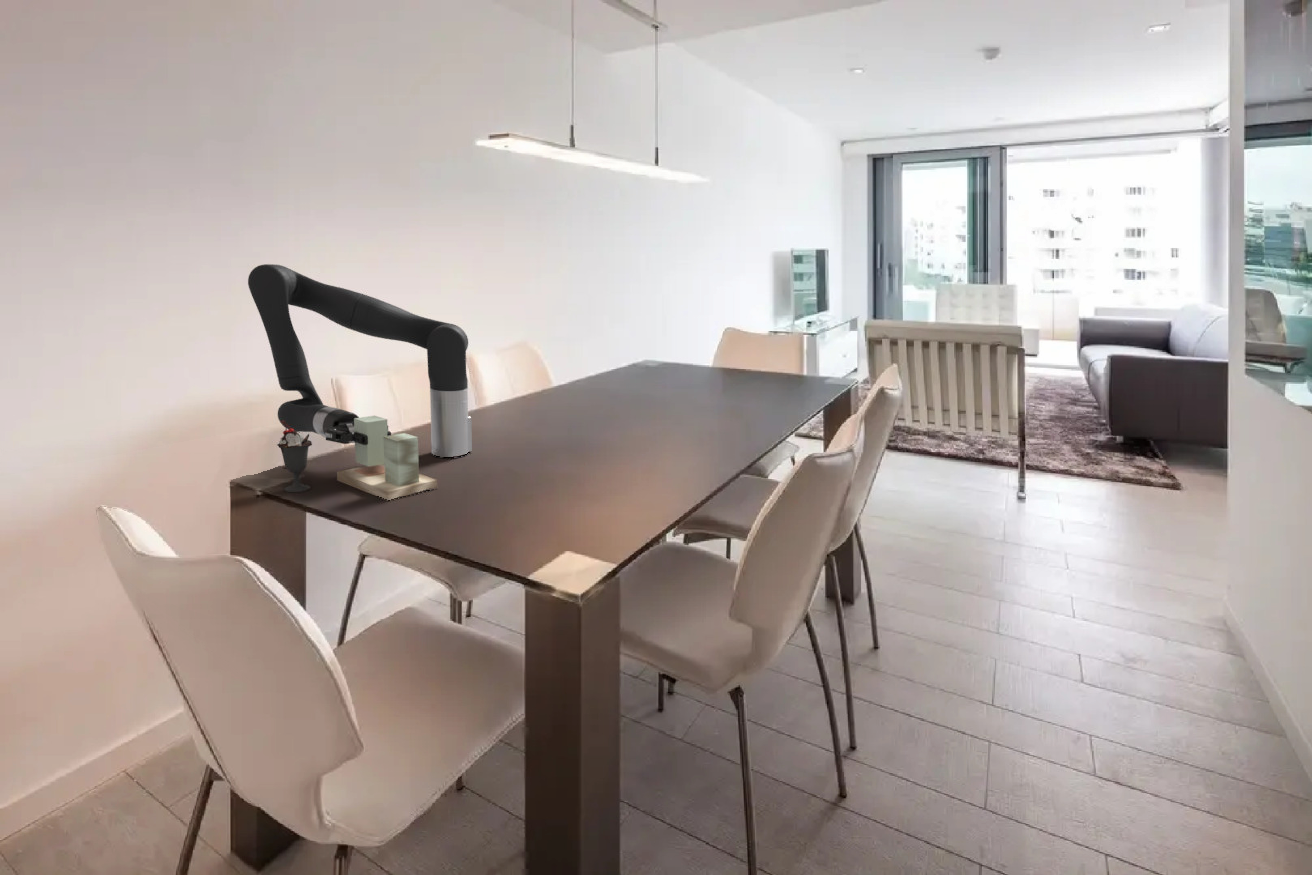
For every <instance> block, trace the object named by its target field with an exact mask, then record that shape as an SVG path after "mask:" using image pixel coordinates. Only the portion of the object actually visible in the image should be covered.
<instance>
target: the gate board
mask: <svg viewBox="0 0 1312 875" xmlns="http://www.w3.org/2000/svg"><path fill="white" fill-rule="evenodd" d="M384 461H385V463H384V464H379V465H374V466H369V467H368V466H365V465H363V466H359V467H354V468H350V469H345V470H340V471H336V481H338V482H340V483H343V484H346V485H348V486H351V487H353V488H356V489H358V490H360V491H363V492H365V493H368V494H370V495H373V496H376V497H377V496H379V497H378V498H380V497H382V498H381V499H383V498H384V499H383V500H385V499H387V500H386V501H388V500H390V501H392V500H391V499H394V498H397V497H399V496H406V495H409V494H411V493H414V492H420V491H423V490H426V489H429V488H434V487H437V488H438V479H436V478H432V477H430V476H426V475H425V474H422V473H420V467H419V437H418V436H416V435H415V436H414V435H412V434H408V433H405V432H403V433H396V434H391V435H390V436H384ZM406 497H407V496H406ZM394 500H395V499H394Z"/></svg>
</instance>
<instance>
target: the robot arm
mask: <svg viewBox="0 0 1312 875" xmlns="http://www.w3.org/2000/svg"><path fill="white" fill-rule="evenodd" d="M247 285H248V289H249V293H250V294H251V297H252V300H253V301H254V304H255V306H256V309H257V311H258V314H259V316H260V319H261V321H262V324H263V327H264V330H265V333H266V336H267V339H268V343H269V345H270V350H271V355H272V358H273V363H274V366H275V371H276V376H277V381H278V384H279V387H280V389H281V390H283V391H285V392H286V391H287V392H288V391H289V392H292V391H293V392H298V393H299V395H301V398H299V399H298V398H297V399H293V400H289V401H285V402H283V403H282V404H281V405H280V406H279V407H278V410H277V419H278V421H279V423H280V424H281V425H282V426H283V427H284V428H285V429H286V427H287V430H288V429H289V427H290V428H292V429H294V430H295V431H299V432H300V433H303V432H305V433H311V432H312V433H314V434H317V435H320V436H321V437H323V438H325V441H328V442H334V443H337V444H338V443H339V444H342V445H348V444H351V443H352V444H355V443H359V444H362V445H367V444H368V436H367V435H365V434H362V433H359V432H357V433H356V431H355V430H354V418H360V417H359V416H358V415H357V414H356V413H354V412H351V411H348V410H345V409H342V408H339V407H333V406H332V407H331V406H329V405H324V402H323V400H322V399H321V397H320V395H319V394H318V392H317V390H316V388H315V386H314V384H313V382H312V380H311V377H310V371H309V367H308V362H307V358H306V355H305V352H304V348H303V346H302V344H301V342H300V340H299V337H298V335H297V334H296V331H295V328H294V326H293V322H292V319H291V315H290V308H289V306H293V307H298V308H302V309H305V310H309V311H310V312H311V311H312V312H314V313H316V314H319V315H321V316H323V317H324V318H327V320H330V321H331V322H334V323H335V324H337V325H338V326H341V327H342V328H343V327H344V328H345V329H349V330H351V331H354V332H356V333H360V334H363V335H366V336H370V337H374V338H379V339H384V340H391V341H397V342H404V343H408V344H411V345H415V346H417V347H420V348H422V349H425V350H426V355H427V357H426V358H427V375H428V380H429V396H430V398H429V399H430V402H429V403H430V404H429V405H430V438H431V440H430V441H431V442H430V444H431V455H432V454H433V455H432V456H434V455H436V456H440V457H439V458H443V457H453V456H459V455H463V454H467V453H468V452H469V451H472V450H473V447H472V446H473V445H472V444H473V442H472V441H473V440H472V435H473V434H472V417H471V416H470V415H469V402H468V399H469V397H468V393H469V392H468V390H469V389H468V385H469V384H468V383H469V382H468V376H467V355H466V354H467V350H468V347H469V338H468V335H467V333H466V332H465V331H464V330H463V328H461V327H460V326H458V325H456V324H453V323H449V322H445V321H439V320H435V319H431V318H427V317H424V316H420V315H418V314H415V313H412V312H410V311H408V310H405V309H403V308H401V307H399V306H396V305H394V304H391V303H389V302H386V301H384V300H381V299H378V298H377V297H373V296H370V295H368V294H364V293H360V292H357V291H354V290H350V289H347V288H343V287H340V286H334V285H330V284H326V283H324V282H320V281H317V280H315V279H312V278H311V277H308V276H306V275H303V274H301V273H300V272H297V271H295V270H292V269H291V268H288V267H287V266H283V265H280V264H271V263H267V264H260V265H258V266H255V267H254V268H253V269H252V270H251V271H250V273H249V274H248V278H247ZM281 421H284V422H285V423H286V424H287V425H288V426H289V427H288V426H287V425H286V424H285V423H284V424H285V425H286V426H285V425H284V424H283V423H281ZM387 427H388V428H389V425H388V424H387ZM387 435H388V436H390V435H392V432H391V431H390V430H388V432H387ZM472 452H473V451H472ZM468 454H469V453H468ZM468 454H467V455H468ZM436 456H435V457H436Z"/></svg>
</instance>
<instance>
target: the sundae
mask: <svg viewBox="0 0 1312 875" xmlns="http://www.w3.org/2000/svg"><path fill="white" fill-rule="evenodd" d="M281 423H283V424H284V423H285V422H284V421H281ZM281 423H280V424H281ZM285 424H286V423H285ZM285 424H284V425H285ZM286 425H287V424H286ZM286 425H285V426H286ZM287 426H288V425H287ZM288 427H289V426H288ZM282 434H283V435H282V437H280V440H279V441H278V443H277V444H276V446H278V448H280V451H281V454H282V460H283V464H284V465H285V466H284V467H285V469H286V470H287V471H288V472H289V473H291V474H292V475H293V482H292V484H291V485H289V486H287V487H285V488H286V489H285V488H284V491H285V490H286V491H285V492H287V493H301V492H306V491H309V490H310V489H311V486H310V485H308V484H303V483H302V482H301V475H300V474H301V473H303V471H305V470H306V468H307V465H308V454H309V447H311V446H312V445H313V442H312V441H311V440H309V437H310V434H309V433H308V434H307V435H306V436H305V437H304V435H303V432H299V431H295V430H294V429H292V428H290V427H289V429H287V427H286V428H285V430H284V431H283V432H282Z"/></svg>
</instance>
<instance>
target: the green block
mask: <svg viewBox="0 0 1312 875" xmlns="http://www.w3.org/2000/svg"><path fill="white" fill-rule="evenodd" d="M387 425H388V419H387V418H383V417H381V416H377V415H370V416H364V417H363V416H362V417H359V418H354V430H355V431H356V433H357V432H359V433H362V434H365V435H367V436H368V444H367V445H362V444H359V443H354V448H355V449H354V451H355V453H354V454H355V463H358V464H360V465H363V466H368V467H369V466H374V465H379V464H384V463H385V461H384V436H388V435H387V432H388V431H389V426H388V427H387Z"/></svg>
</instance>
